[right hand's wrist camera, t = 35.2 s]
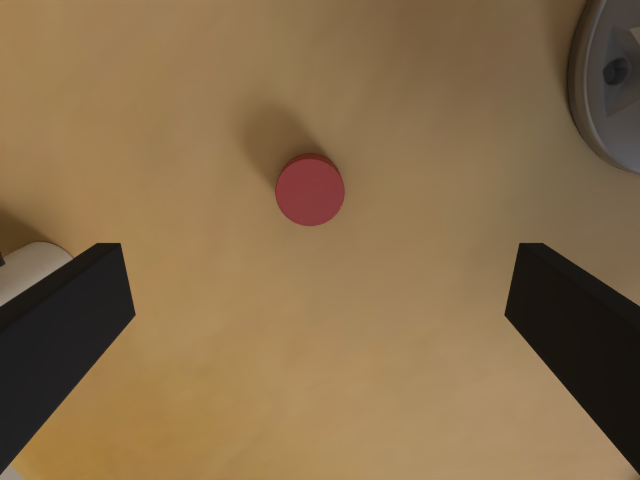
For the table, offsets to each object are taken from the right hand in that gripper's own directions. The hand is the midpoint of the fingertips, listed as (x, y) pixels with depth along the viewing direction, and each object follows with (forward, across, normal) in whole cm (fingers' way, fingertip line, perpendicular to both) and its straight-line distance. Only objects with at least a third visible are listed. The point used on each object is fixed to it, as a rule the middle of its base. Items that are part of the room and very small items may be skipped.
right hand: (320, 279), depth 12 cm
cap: (+11, +1, 0) cm, 11 cm away
